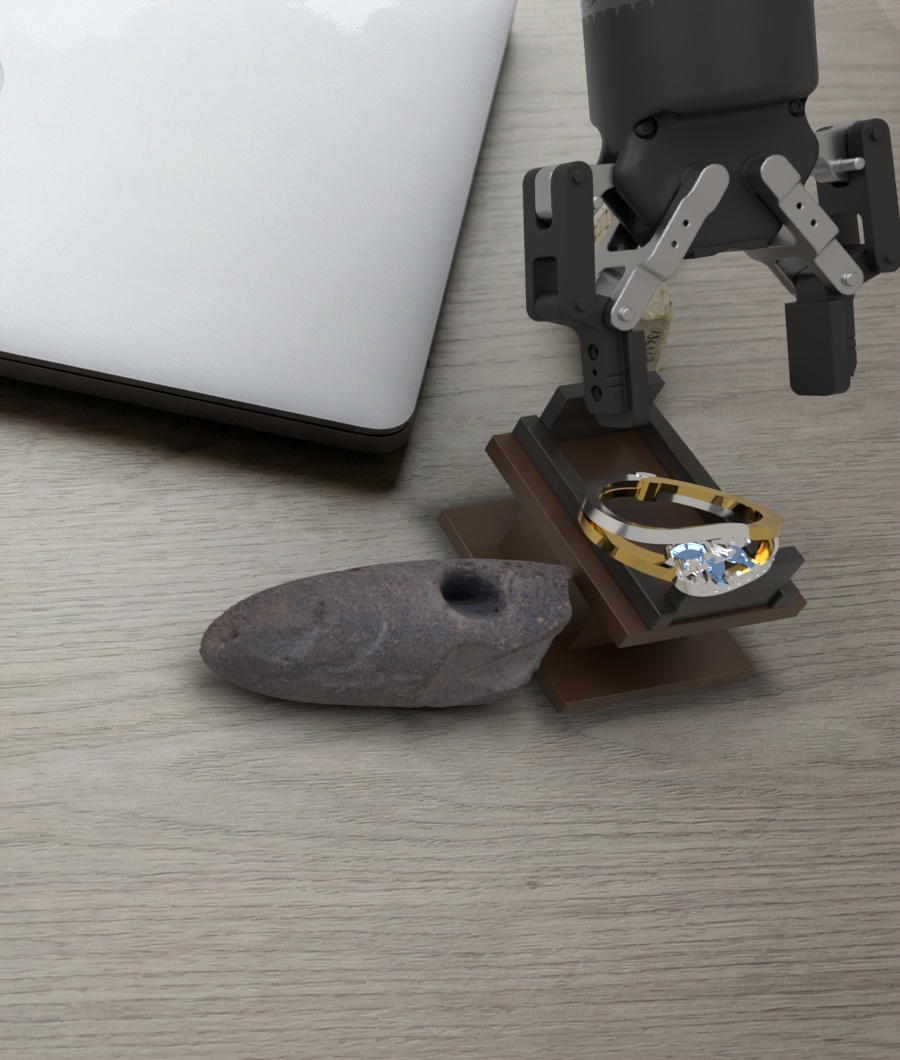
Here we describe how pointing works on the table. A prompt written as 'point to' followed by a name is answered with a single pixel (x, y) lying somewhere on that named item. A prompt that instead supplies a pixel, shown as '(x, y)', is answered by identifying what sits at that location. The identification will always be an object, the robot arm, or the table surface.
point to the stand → (602, 581)
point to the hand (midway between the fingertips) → (723, 410)
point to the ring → (683, 533)
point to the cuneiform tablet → (656, 312)
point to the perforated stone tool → (395, 633)
